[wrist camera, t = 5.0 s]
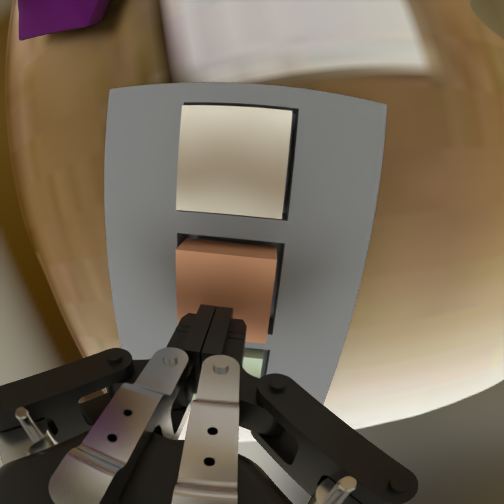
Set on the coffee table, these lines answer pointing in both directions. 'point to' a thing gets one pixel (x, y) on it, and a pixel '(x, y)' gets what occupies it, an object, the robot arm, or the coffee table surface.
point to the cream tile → (233, 160)
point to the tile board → (246, 218)
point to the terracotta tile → (227, 281)
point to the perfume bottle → (57, 15)
